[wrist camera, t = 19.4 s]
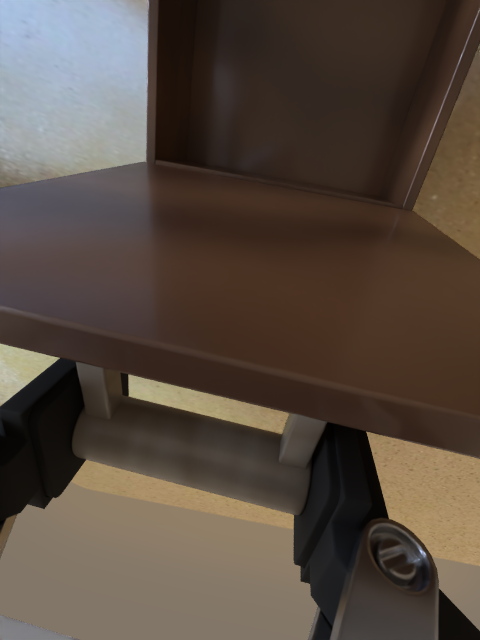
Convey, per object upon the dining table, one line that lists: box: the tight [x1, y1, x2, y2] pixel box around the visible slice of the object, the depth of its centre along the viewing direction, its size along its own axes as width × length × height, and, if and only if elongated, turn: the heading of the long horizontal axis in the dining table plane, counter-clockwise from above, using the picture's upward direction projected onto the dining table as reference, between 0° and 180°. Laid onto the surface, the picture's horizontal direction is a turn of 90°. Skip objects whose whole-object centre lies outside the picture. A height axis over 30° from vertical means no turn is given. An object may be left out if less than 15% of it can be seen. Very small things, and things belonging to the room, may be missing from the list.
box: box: [146, 0, 480, 211], centre depth 18 cm, size 15×16×7 cm
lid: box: [0, 162, 480, 515], centre depth 13 cm, size 16×16×6 cm
